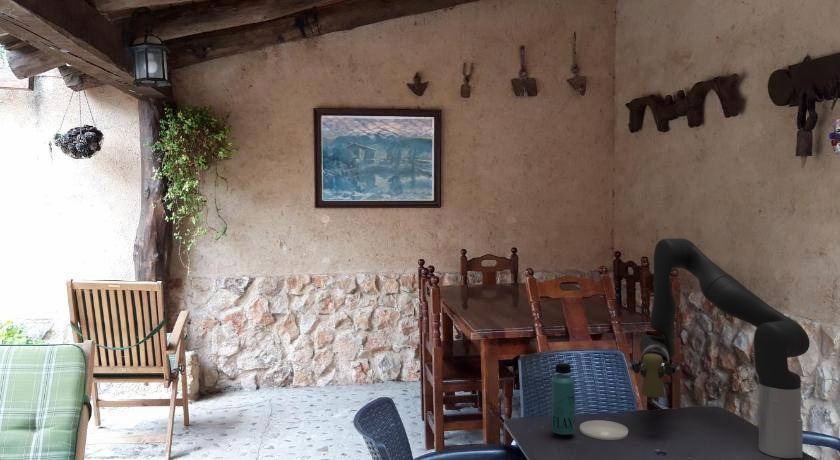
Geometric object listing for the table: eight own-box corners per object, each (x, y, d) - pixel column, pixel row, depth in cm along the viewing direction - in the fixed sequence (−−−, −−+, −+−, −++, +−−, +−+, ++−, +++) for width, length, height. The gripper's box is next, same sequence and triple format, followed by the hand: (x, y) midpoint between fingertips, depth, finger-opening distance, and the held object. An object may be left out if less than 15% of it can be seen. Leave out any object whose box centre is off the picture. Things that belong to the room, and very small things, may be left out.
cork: (666, 397, 163) (666, 357, 163) (643, 397, 164) (642, 356, 164) (662, 391, 169) (662, 352, 169) (639, 390, 170) (639, 351, 170)
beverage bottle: (548, 438, 167) (547, 365, 166) (555, 430, 173) (554, 360, 172) (572, 441, 164) (571, 368, 163) (578, 433, 170) (577, 362, 169)
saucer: (630, 426, 174) (630, 423, 174) (626, 442, 163) (626, 439, 162) (583, 421, 180) (583, 418, 180) (576, 436, 168) (576, 432, 168)
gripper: (629, 345, 183) (624, 358, 167) (680, 348, 178) (680, 362, 162) (630, 369, 183) (624, 385, 168) (681, 374, 178) (680, 390, 162)
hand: (652, 373), depth 165 cm, fingers closed on cork, 3 cm apart
